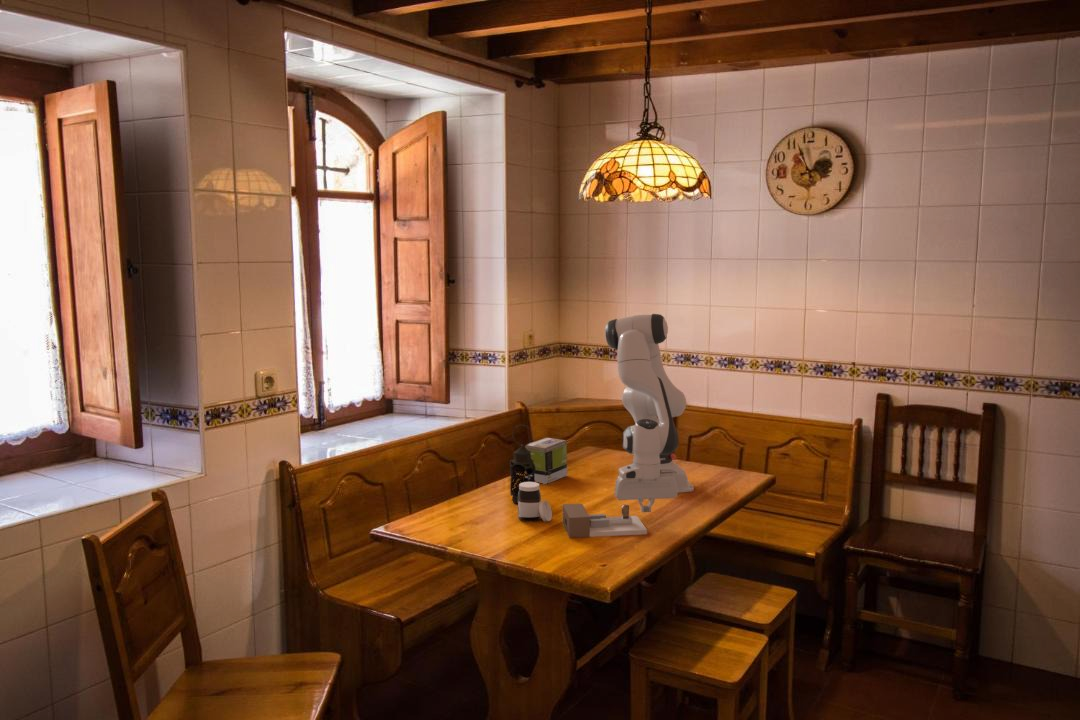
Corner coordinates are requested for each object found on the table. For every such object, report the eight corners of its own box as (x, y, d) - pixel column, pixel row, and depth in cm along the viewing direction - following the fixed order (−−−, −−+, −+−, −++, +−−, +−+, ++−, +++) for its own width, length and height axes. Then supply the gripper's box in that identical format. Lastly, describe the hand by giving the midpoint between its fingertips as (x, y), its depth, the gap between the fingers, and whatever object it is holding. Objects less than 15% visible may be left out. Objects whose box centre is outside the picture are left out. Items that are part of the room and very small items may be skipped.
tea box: (547, 472, 348) (547, 436, 346) (567, 476, 342) (567, 439, 340) (524, 481, 336) (524, 443, 334) (545, 485, 330) (545, 447, 328)
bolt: (630, 521, 283) (630, 504, 282) (632, 524, 280) (632, 506, 279) (600, 522, 281) (600, 505, 281) (601, 525, 279) (601, 507, 278)
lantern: (505, 503, 308) (504, 426, 304) (514, 496, 316) (514, 421, 312) (531, 506, 304) (530, 428, 300) (540, 499, 313) (539, 423, 309)
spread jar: (517, 513, 296) (517, 480, 295) (550, 512, 297) (550, 479, 295) (519, 525, 284) (518, 490, 283) (553, 524, 285) (553, 490, 284)
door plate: (636, 520, 289) (637, 501, 288) (647, 534, 275) (647, 514, 274) (562, 523, 286) (562, 504, 285) (569, 537, 272) (569, 517, 271)
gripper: (675, 466, 284) (674, 507, 286) (613, 468, 281) (613, 509, 283) (680, 471, 278) (679, 513, 280) (618, 474, 275) (617, 516, 277)
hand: (645, 511), depth 281 cm, fingers closed
